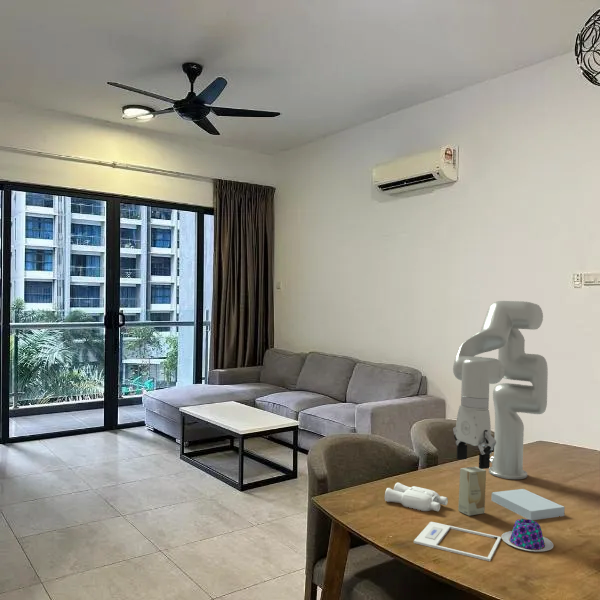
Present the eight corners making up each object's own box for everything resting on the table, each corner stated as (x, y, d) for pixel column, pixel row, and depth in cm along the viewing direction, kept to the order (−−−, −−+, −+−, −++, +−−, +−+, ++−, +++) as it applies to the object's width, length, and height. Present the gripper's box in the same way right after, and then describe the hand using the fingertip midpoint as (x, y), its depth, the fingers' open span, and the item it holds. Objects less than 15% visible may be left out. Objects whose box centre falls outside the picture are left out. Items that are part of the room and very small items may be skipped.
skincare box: (468, 516, 157) (470, 472, 157) (457, 511, 160) (458, 468, 161) (485, 513, 160) (487, 469, 160) (474, 508, 163) (475, 465, 164)
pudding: (514, 530, 149) (515, 510, 149) (561, 545, 140) (562, 523, 140) (492, 542, 141) (493, 521, 141) (540, 559, 132) (541, 536, 132)
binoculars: (398, 494, 174) (399, 479, 174) (449, 506, 165) (449, 490, 165) (383, 504, 166) (383, 488, 166) (435, 517, 156) (435, 500, 156)
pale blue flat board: (491, 502, 170) (491, 492, 170) (523, 498, 174) (523, 488, 174) (530, 522, 155) (530, 511, 155) (564, 517, 159) (564, 506, 159)
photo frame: (430, 520, 151) (501, 536, 142) (430, 524, 151) (501, 540, 142) (413, 539, 138) (490, 558, 129) (413, 544, 138) (489, 563, 129)
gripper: (445, 398, 167) (443, 456, 166) (484, 408, 151) (482, 473, 150) (466, 397, 169) (464, 455, 169) (506, 407, 153) (504, 471, 153)
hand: (472, 463), depth 160 cm, fingers open, 9 cm apart
